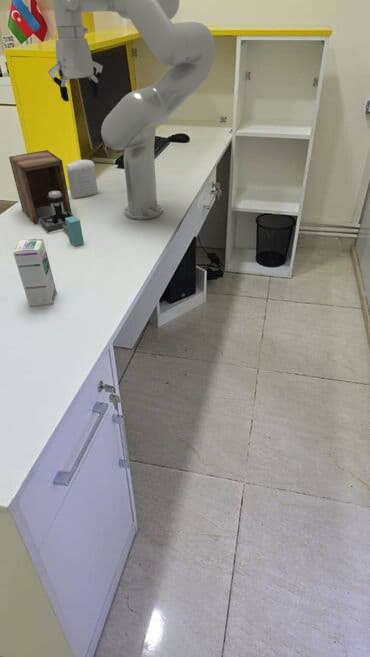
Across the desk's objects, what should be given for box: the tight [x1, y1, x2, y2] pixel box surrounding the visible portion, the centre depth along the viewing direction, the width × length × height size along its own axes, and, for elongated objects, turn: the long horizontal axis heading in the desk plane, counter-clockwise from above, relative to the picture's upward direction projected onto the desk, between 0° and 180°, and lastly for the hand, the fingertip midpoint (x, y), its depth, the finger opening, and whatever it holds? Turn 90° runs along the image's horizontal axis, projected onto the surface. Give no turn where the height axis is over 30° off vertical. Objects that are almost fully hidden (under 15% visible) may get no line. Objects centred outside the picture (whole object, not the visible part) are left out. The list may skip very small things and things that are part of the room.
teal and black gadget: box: [38, 211, 85, 246], centre depth 136 cm, size 21×10×7 cm, turn 32°
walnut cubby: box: [8, 149, 73, 226], centre depth 146 cm, size 14×13×18 cm
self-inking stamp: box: [47, 191, 68, 225], centre depth 141 cm, size 7×5×10 cm
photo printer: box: [65, 159, 99, 199], centre depth 160 cm, size 10×4×12 cm, turn 123°
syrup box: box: [12, 238, 57, 307], centre depth 104 cm, size 6×6×14 cm
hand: (80, 98), depth 140 cm, fingers open, 9 cm apart
